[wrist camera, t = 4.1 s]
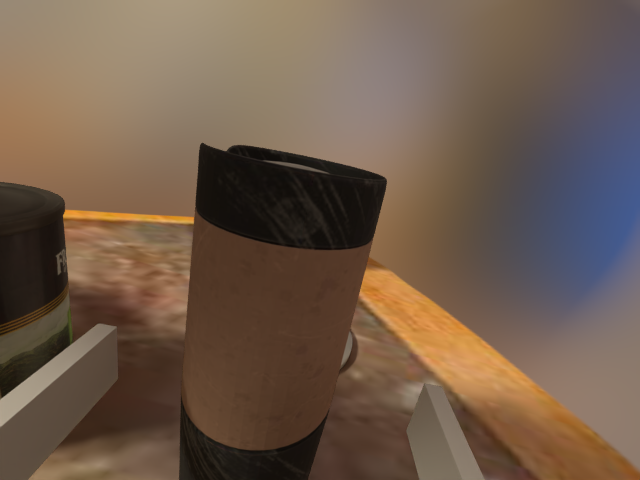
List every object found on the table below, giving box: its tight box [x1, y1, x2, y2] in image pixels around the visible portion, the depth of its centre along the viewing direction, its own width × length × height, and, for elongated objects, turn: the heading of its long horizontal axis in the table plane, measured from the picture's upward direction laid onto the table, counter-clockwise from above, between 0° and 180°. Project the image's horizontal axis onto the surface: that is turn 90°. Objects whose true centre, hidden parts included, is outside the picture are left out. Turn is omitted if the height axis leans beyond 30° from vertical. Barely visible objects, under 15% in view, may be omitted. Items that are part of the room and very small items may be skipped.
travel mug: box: [179, 143, 387, 480], centre depth 15 cm, size 8×8×20 cm
